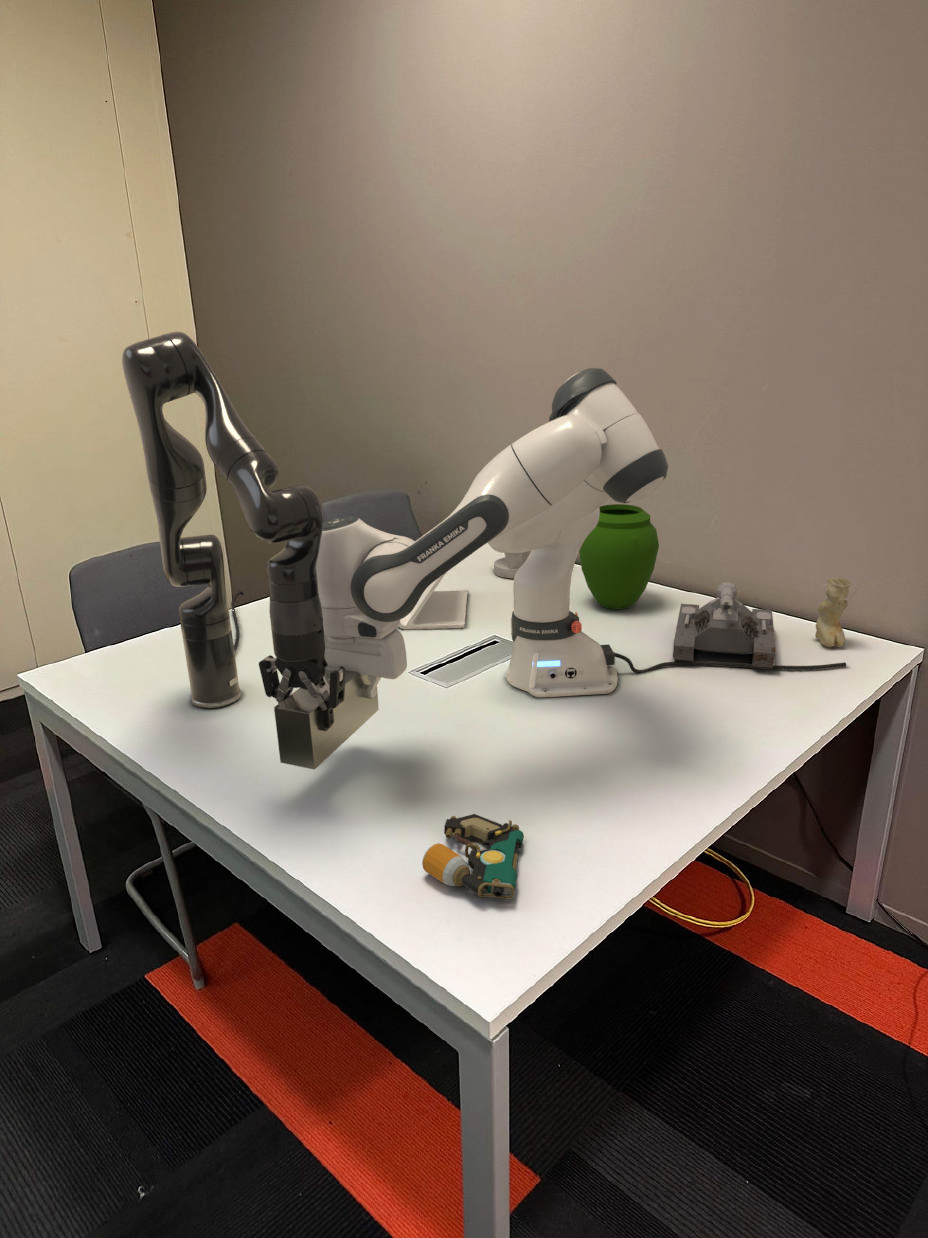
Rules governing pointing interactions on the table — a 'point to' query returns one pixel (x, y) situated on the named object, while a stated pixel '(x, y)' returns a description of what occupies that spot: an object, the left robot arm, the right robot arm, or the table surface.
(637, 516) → the vase
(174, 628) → the table surface
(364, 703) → the box
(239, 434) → the left robot arm
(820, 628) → the sculpture
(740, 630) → the toy
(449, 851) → the spray gun
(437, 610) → the tablet stand
